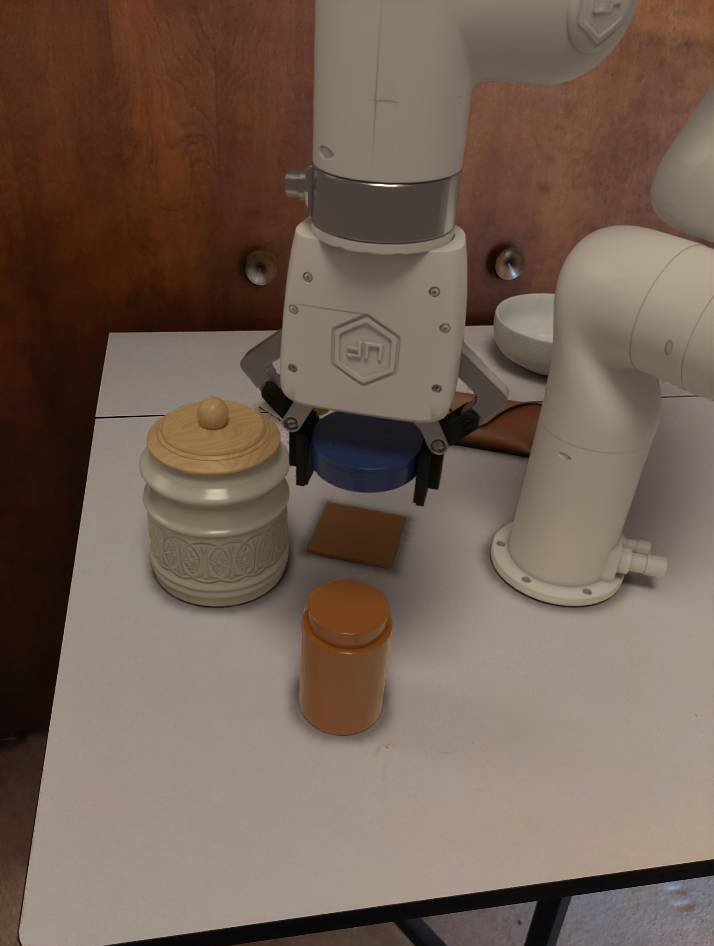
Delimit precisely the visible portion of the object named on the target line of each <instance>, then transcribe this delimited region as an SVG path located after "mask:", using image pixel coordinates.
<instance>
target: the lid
mask: <svg viewBox="0 0 714 946" xmlns="http://www.w3.org/2000/svg"><path fill="white" fill-rule="evenodd" d="M422 441H423V435H422V432H421V431H420V429H419V428H418V426H417V425H416V424H415V423H414V422H407V421H399V420H392V419H385V418H378V417H371V416H365V415H358V414H351V413H345V412H338V411H335V412H332V413H330V414H328V415H326V416H324V417H323V418H320V419H319V421H318V422H317V423H316V424H315V426H314V428H313V430H312V433H311V442H310V449H309V459H311V464H312V467H313V469H314V473H316V474H317V476H318V477H320V478H321V479H322V480H323V481H324V482H326V483H328V484H330V485H331V486H334V487H336V488H339V489H341V490H345V491H349V492H354V493H361V494H376V493H377V494H378V493H385V492H391V491H394V490H397V489H400V488H402V487H404V486H406V485H407V484H409V483H410V482H412V481H413V480H414V479H416V472H417V463H418V456H419V452H420V448H421V445H422Z"/></svg>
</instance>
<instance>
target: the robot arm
mask: <svg viewBox="0 0 714 946" xmlns="http://www.w3.org/2000/svg"><path fill="white" fill-rule="evenodd" d="M314 2H315V3H314V6H315V7H314V48H313V49H314V52H313V53H314V54H313V55H314V56H313V57H314V58H313V59H314V60H313V61H314V62H313V112H312V113H313V115H312V116H313V120H312V125H313V126H312V129H313V130H312V161H311V162H310V163H309V165H308V166H307V168H306V167H302V168H300V170H298V169H287V171H286V174H285V178H284V192H285V196H286V197H289V198H298V201H300V202H305V208H307V217H306V218H305V219H303V221H301V222H299V224H298V225H296V227H295V231H294V235H293V238H292V244H291V249H290V255H289V260H288V261H289V262H288V267H287V276H286V282H285V291H284V292H285V293H284V301H283V311H282V313H283V314H282V326H281V328H279V329H278V330H276V331H274V333H272V334H270V335H269V336H267V337H266V338H265V339H263V340H262V341H260V342H259V343H257V344H256V345H255V346H253V347H252V348H250V349H249V350H247V352H245V355H243V357H242V358H241V360H240V361H239V365H240V366H239V367H240V369H241V370H242V371H243V372H244V374H245V375H246V377H247V379H249V380H250V381H251V383H252V384H253V385H254V386H255V388H256V389H257V388H258V389H259V391H260V395H261V398H262V400H263V401H264V402H267V403H268V404H269V405H270V407H271V408H272V409H273V410H274V411H275V412H276V413H277V414H278V415H279V416H280V417H281V418H282V419H283V420H281V424H282V427H283V428H284V429H285V430H286V431H287V432H288V453H289V465H290V467H295V486H299V487H305V486H308V485H309V483H310V481H311V478H312V476H313V475H314V473H315V470H314V469H313V467H312V464H311V459H309V449H310V442H311V433H312V430H313V428H314V426H315V424H316V423H317V422H318V421H319V420H320V419H319V416H317V411H314V409H313V408H320V409H325V410H332V411H338V412H345V413H351V414H358V415H365V416H371V417H378V418H385V419H392V420H399V421H407V422H416V423H418V425H419V427H420V430H421V432H422V434H423V436H424V438H423V441H422V445H421V448H420V452H419V456H418V463H417V472H416V476H415V480H414V489H413V496H412V497H413V498H412V504H415V506H417V507H422V508H423V507H425V504H426V500H427V495H428V492H429V490H436V491H439V488H440V484H441V480H442V474H443V466H444V461H445V460H444V459H445V453H447V452H448V450H449V448H450V447H451V446H452V445H455V444H454V443H456V442H457V441H459V440H461V439H462V438H464V437H465V436H467V435H469V434H470V433H472V432H473V431H475V430H476V429H477V428H478V425H480V424H481V423H482V422H484V421H486V420H488V419H489V418H490V417H492V416H493V415H494V414H496V413H497V412H498V411H500V410H501V409H502V408H503V407H505V406H506V405H507V402H508V400H509V395H510V389H509V387H508V385H507V384H506V383H505V382H504V381H503V380H502V379H501V378H500V377H499V376H498V375H497V374H496V373H495V372H494V370H492V369H491V368H490V367H489V366H488V365H487V364H486V363H485V362H484V361H483V360H482V359H481V358H480V357H479V355H477V354H476V353H475V352H474V351H473V350H472V349H471V347H469V346H468V345H467V344H466V343H465V333H466V319H467V305H468V304H467V303H468V251H467V238H466V233H465V231H464V230H463V228H462V227H460V226H458V225H456V220H457V212H458V205H459V196H460V189H461V182H462V181H461V180H462V173H463V165H464V158H465V151H466V143H467V134H468V128H469V127H468V126H469V119H470V111H471V105H472V104H471V103H472V97H473V96H472V95H473V90H474V88H475V87H476V86H477V85H478V84H480V83H501V84H503V83H504V84H514V85H522V86H523V85H524V86H534V87H535V86H537V87H544V86H554V85H560V84H563V83H566V82H570V81H572V80H575V79H577V78H580V77H582V76H583V75H585V74H586V73H588V72H590V71H592V70H593V69H594V68H596V67H597V66H598V65H600V64H601V63H602V62H603V61H604V60H606V58H607V57H608V56H609V55H610V54H611V53H612V52H613V51H614V49H615V48H616V47H617V46H618V44H619V43H620V41H621V40H622V39H623V37H624V35H625V34H626V33H627V30H628V28H629V27H630V24H631V23H632V21H633V18H634V16H635V13H636V10H637V8H638V3H639V0H315V1H314ZM699 101H700V102H699V103H698V104H697V106H696V107H695V108H694V110H693V112H692V113H691V114H690V116H689V118H688V119H687V120H686V121H685V123H684V124H683V126H682V127H681V129H680V130H679V131H678V133H677V135H676V136H675V138H674V139H673V141H672V142H671V144H670V145H669V147H668V148H667V151H666V152H665V154H664V155H663V157H662V159H661V161H660V162H659V163H658V166H657V168H656V170H655V172H654V174H653V178H652V182H651V185H650V190H649V197H650V198H649V199H650V204H651V207H652V210H653V212H654V213H655V214H656V216H657V217H658V218H659V219H660V220H661V221H662V222H664V223H665V224H667V225H668V226H670V227H671V228H673V229H675V230H678V231H680V232H682V233H684V234H687V235H689V236H692V237H695V238H698V239H700V240H703V241H707V242H710V243H714V82H713V83H712V84H711V85H710V87H709V88H708V90H707V91H706V93H705V94H704V95H703V97H702V98H701V100H699ZM554 294H555V297H554V312H553V347H552V356H551V363H550V369H549V375H548V376H547V380H546V386H545V390H544V394H543V399H542V407H541V411H540V415H539V419H538V423H537V427H536V432H535V436H534V440H533V444H532V448H531V453H530V456H528V461H527V466H526V470H525V473H524V478H523V483H522V487H521V490H520V494H519V498H518V503H517V508H516V512H515V516H514V520H513V521H511V522H507V523H506V524H505V525H504V526H501V528H499V529H498V531H497V532H496V533H495V535H494V537H493V539H492V543H491V548H490V559H491V561H492V565H493V567H494V568H495V570H496V572H497V573H498V575H499V576H500V577H501V578H502V579H503V580H504V581H505V582H506V583H507V584H509V585H510V586H511V587H513V588H514V589H515V590H517V591H519V592H521V593H522V594H523V595H526V596H528V597H530V598H533V599H535V600H538V601H541V602H544V603H548V604H551V605H552V604H553V605H558V606H566V607H581V606H591V605H595V604H598V603H601V602H604V601H606V600H607V599H610V598H611V597H613V596H614V595H615V594H616V593H617V592H618V591H619V589H620V587H621V586H622V584H623V580H624V578H625V575H627V574H628V573H629V572H634V573H640V574H642V575H646V576H652V577H656V578H662V579H663V578H664V577H665V575H666V573H667V569H668V562H669V561H668V560H669V559H668V557H665V556H661V555H655V554H651V551H652V542H651V541H647V540H642V539H632V538H628V537H627V536H626V534H623V531H622V530H623V528H624V525H625V522H626V519H627V516H628V513H629V510H630V509H631V508H630V507H631V505H632V502H633V499H634V496H635V493H636V490H637V488H638V484H639V481H640V478H641V476H642V474H643V469H644V467H645V464H646V461H647V459H648V457H649V453H650V450H651V447H652V444H653V441H654V439H655V436H656V433H657V429H658V427H659V423H660V419H661V415H662V389H661V383H660V381H662V382H665V383H667V384H669V385H671V386H674V387H677V388H679V389H681V390H683V391H685V392H688V393H690V394H693V395H696V396H698V397H700V398H703V399H706V400H709V401H712V402H714V248H712V247H708V246H707V245H705V244H702V243H700V242H696V241H693V240H690V239H686V238H683V237H679V236H676V235H673V234H670V233H666V232H663V231H660V230H656V229H653V228H648V227H643V226H639V225H628V224H617V225H609V226H606V227H602V228H599V229H597V230H595V231H592V232H590V233H589V234H587V235H586V236H584V237H583V238H582V239H580V240H579V242H578V243H576V244H575V246H574V247H573V248H572V249H571V250H570V252H569V254H568V255H567V257H566V258H565V260H564V262H563V263H562V266H561V268H560V271H559V273H558V277H557V281H556V286H555V290H554ZM278 360H280V361H279V373H278V372H277V369H276V367H275V366H274V364H273V363H274V362H276V361H278ZM294 368H295V369H294ZM459 379H460V381H462V383H463V384H465V385H466V386H467V388H468V389H469V390H470V391H471V392H472V393H473V394H476V396H475V397H474V398H473V400H471V401H470V402H467V403H465V404H463V405H461V406H460V407H458V408H457V409H455V410H454V411H452V412H451V413H450V412H449V409H450V407H451V405H452V402H453V399H454V395H455V391H456V392H457V386H458V381H459Z"/></svg>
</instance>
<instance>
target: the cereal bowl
mask: <svg viewBox="0 0 714 946" xmlns="http://www.w3.org/2000/svg"><path fill="white" fill-rule="evenodd" d="M554 297H555V293H549V292H548V293H545V292H541V293H539V292H538V293H525V294H519V295H513V296H511V297H508V298H506V299H504V300H502V301H500V302H499V304H498V305H497V306H496V309H495V311H494V316H493V336H494V341H495V342H496V345H497V346H498V347H497V348H498V349H499V350H500V351H501V352H502V353H503V355H504V356H505V357H506V358H508V359H509V360H510V361H512V362H513V363H515V364H516V365H519V366H521V367H523V368H524V369H526V370H527V371H529V372H532V373H534V374H537V375H541V376H547V377H548V375H549V369H550V363H551V356H552V347H553V312H554Z"/></svg>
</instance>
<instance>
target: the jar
mask: <svg viewBox="0 0 714 946" xmlns="http://www.w3.org/2000/svg"><path fill="white" fill-rule="evenodd" d="M281 438H282V436H281V431H280V429H279V426H278V425H277V424H276V422H275V421H273V420H272V418H271V417H269V416H268V415H267V414H264V413H263V412H261V411H259V410H256V409H253V408H252V407H250V406H248V405H246V404H243V403H240V402H237V401H231V400H223V399H222V398H220V397H218V396H209V397H205V398H204V399H202V400H199V401H194V402H190V403H186V404H183V405H181V406H179V407H177V408H175V409H174V410H172V411H170V412H168V413H166V414H164V415H163V416H162V417H160V418H159V419H157V420H156V421H155V422H154V423H153V424H152V425H151V426H150V428H149V430H148V432H147V435H146V447H145V448H144V449H143V451H142V452H141V455H140V458H139V463H138V467H139V473H140V475H141V478H142V479H143V481H144V482H145V485H144V488H143V492H142V502H143V506H144V508H145V511H146V516H147V517H146V518H147V525H148V533H149V549H148V551H149V557H150V564H151V567H152V570H153V571H154V574H155V577H156V579H157V581H158V583H159V584H160V586H161V587H162V588H163V589H164V590H165V591H166V592H168V593H169V594H170V595H172V596H174V597H175V598H177V599H179V600H182V601H184V602H186V603H190V604H194V605H199V606H206V607H227V606H228V607H229V606H236V605H240V604H244V603H247V602H251V601H252V600H255V599H257V598H259V597H261V596H263V595H265V594H266V593H268V592H269V591H271V589H273V588H274V587H275V586H276V585H277V584H278V583H279V581H280V579H281V578H282V576H283V575H284V572H285V569H286V566H287V562H288V559H289V547H290V546H289V537H288V504H289V501H290V493H291V492H290V486H289V482H288V481H287V478H286V477H287V475H288V474H289V470H290V467H291V466H290V465H289V450H288V449H287V447H286V445H285V444H284V443H283V442H282V441H281V440H282V439H281Z"/></svg>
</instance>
